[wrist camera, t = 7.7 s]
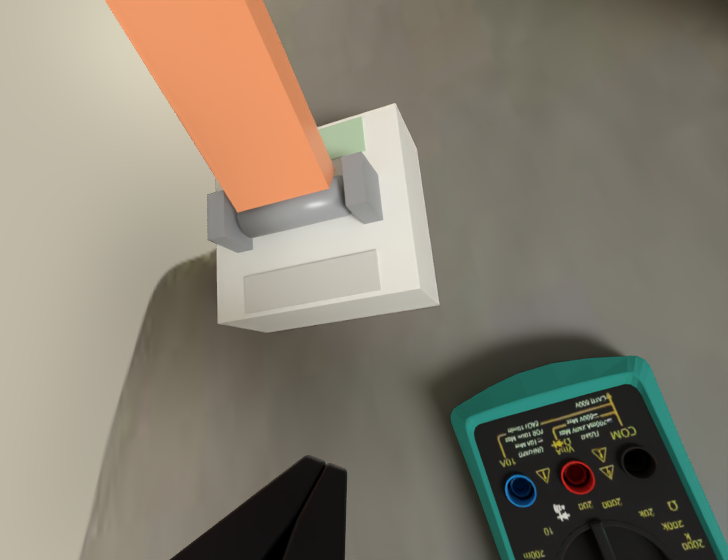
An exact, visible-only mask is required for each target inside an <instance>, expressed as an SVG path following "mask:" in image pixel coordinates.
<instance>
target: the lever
mask: <svg viewBox="0 0 728 560" xmlns="http://www.w3.org/2000/svg"><path fill="white" fill-rule="evenodd" d="M105 1H106V3H107V4H108V6H109V7H110V9H111V11H112V12H113V14H114V15H115V17H116V19H117V20H118V22H119V23H120V25H121V27H122V28H123V30H124V31H125V33H126V35H127V36H128V38H129V40H130V41H131V43H132V44H133V46H134V47H135V49H136V51H137V52H138V54H139V55H140V57H141V59H142V60H143V62H144V64H145V65H146V67H147V68H148V70H149V71H150V73H151V75H152V76H153V78H154V80H155V81H156V82H157V84H158V86H159V88H160V89H161V91H162V92H163V94H164V95H165V97H166V99H167V100H168V102H169V104H170V105H171V107H172V108H173V110H174V112H175V113H176V114H177V116H178V118H179V120H180V121H181V123H182V124H183V126H184V127H185V129H186V131H187V132H188V134H189V136H190V137H191V139H192V140H193V142H194V144H195V145H196V147H197V148H198V150H199V152H200V153H201V155H202V156H203V158H204V159H205V161H206V163H207V164H208V166H209V167H210V169H211V171H212V172H213V174H214V176H215V177H216V179H217V180H218V182H219V184H220V185H221V187H222V188H223V190H224V192H225V193H226V195H227V196H228V198H229V200H230V201H231V203H232V204H233V206H234V208H235V209H236V211H237V218H238V222H239V225H240V227H241V229H242V231H243V232H244V234H245V235H246V236H248V237H249V238H256V237H260V236H264V235H268V234H273V233H277V232H281V231H285V230H290V229H294V228H298V227H302V226H307V225H311V224H315V223H319V222H324V221H328V220H332V219H336V218H340V217H345V216H349V215H351V213H352V212H351V211H350V210H349V209H348V208H347V207H346V202H345V191H344V181H343V176H341V175H337V176H334V172H335V168H334V166H333V163H332V161H331V159H330V156H329V154H328V152H327V149H326V147H325V145H324V142H323V140H322V138H321V135H320V133H319V131H318V128H317V126H316V124H315V121H314V119H313V117H312V114H311V112H310V110H309V107H308V105H307V103H306V100H305V98H304V96H303V93H302V91H301V88H300V86H299V84H298V81H297V79H296V77H295V74H294V72H293V70H292V67H291V65H290V63H289V60H288V58H287V56H286V53H285V51H284V49H283V46H282V44H281V42H280V39H279V37H278V35H277V32H276V30H275V28H274V25H273V23H272V21H271V18H270V16H269V13H268V11H267V9H266V6H265V4H264V2H263V0H105ZM333 176H334V177H333Z"/></svg>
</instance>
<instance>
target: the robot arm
mask: <svg viewBox="0 0 728 560" xmlns="http://www.w3.org/2000/svg"><path fill="white" fill-rule="evenodd" d="M346 497H347V471H346V469H344V468H342V467H339V466H337V465H334V464H331V463H328V464H327V465H326V463H325V461H323V460H321V459H318V458H315V457H313V456H310V455H307V456H304V457H303V458H301V459H300V460H299V461H297V462H296V463H295V464H294V465H292V466H291V467H290V468H288V469H287V470H286V471H284V472H283V473H282V474H281V475H279V476H278V477H277V478H275V479H274V480H273V481H271V482H270V483H269V484H268V485H266V486H265V487H264V488H262V489H261V490H260V491H258V492H257V493H256V494H254V495H253V496H252V497H251V498H249V499H248V500H247V501H245V502H244V503H243V504H241V505H240V506H239V507H238V508H236V509H235V510H234V511H232V512H231V513H230V514H228V515H227V516H226V517H225V518H223V519H222V520H221V521H219V522H218V523H217V524H215V525H214V526H213V527H212V528H210V529H209V530H208V531H206V532H205V533H204V534H202V535H201V536H200V537H199V538H197V539H196V540H195V541H193V542H192V543H191V544H189V545H188V546H187V547H186V548H184V549H183V550H182V551H180V552H179V553H178V554H176V555H175V556H174V557H173V558H171V559H170V560H345V532H346Z"/></svg>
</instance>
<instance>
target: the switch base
mask: <svg viewBox="0 0 728 560" xmlns="http://www.w3.org/2000/svg"><path fill="white" fill-rule="evenodd" d="M317 128H318V131H319V133H320V135H321V138H322V140H323V142H324V145H325V147H326V149H327V152H328V154H329V156H330V159H331V161H332V163H333V166H334V168H335V172H334V176H337V175H341V176H343V181H344V191H345V202H346V207H347V208H348V209H349V210H350V211H351V212H352V213H351V215H349V216H345V217H340V218H336V219H332V220H328V221H324V222H319V223H315V224H311V225H307V226H302V227H298V228H294V229H290V230H285V231H281V232H277V233H273V234H268V235H264V236H260V237H256V238H249V237H248V236H246V235H245V234H244V232H243V231H242V229H241V227H240V225H239V222H238V218H237V211H236V209H235V208H234V206H233V204H232V203H231V201H230V200H229V198H228V196H227V195H226V193H225V192H224V190H223V188H222V187H221V185H220V184H219V182H218V180H217V179H216V192H215V193H211V194H208V195H207V206H208V208H207V210H208V240H209V241H211V242H214V243H216V244H217V310H218V324H223V325H228V326H234V327H239V328H244V329H250V330H255V331H261V332H266V333H268V332H275V331H281V330H287V329H293V328H300V327H306V326H312V325H318V324H325V323H331V322H337V321H344V320H350V319H356V318H362V317H369V316H375V315H381V314H387V313H394V312H400V311H406V310H413V309H419V308H425V307H431V306H438V305H439V299H438V292H437V285H436V278H435V271H434V264H433V257H432V250H431V243H430V236H429V229H428V222H427V215H426V209H425V202H424V195H423V188H422V181H421V174H420V167H419V160H418V153H417V148H416V146H415V144H414V142H413V140H412V138H411V135H410V133H409V131H408V129H407V127H406V125H405V123H404V121H403V118H402V116H401V114H400V112H399V110H398V108H397V106H396V104H391V105H388V106H385V107H382V108H378V109H375V110H372V111H369V112H365V113H362V114H359V115H356V116H352V117H349V118H346V119H343V120H339V121H336V122H333V123H330V124H326V125H323V126H320V127H317ZM334 176H333V177H334Z"/></svg>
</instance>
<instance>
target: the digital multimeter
mask: <svg viewBox="0 0 728 560" xmlns="http://www.w3.org/2000/svg"><path fill="white" fill-rule="evenodd" d="M641 395H642V396H641ZM642 397H643V398H642ZM643 399H644V400H643ZM645 404H646V405H645ZM646 406H647V407H646ZM647 408H648V409H647ZM648 410H649V411H648ZM649 412H650V413H649ZM652 419H653V420H652ZM653 421H654V422H653ZM451 423H452V426H453V429H454V431H455V434H456V437H457V439H458V442H459V444H460V447H461V450H462V452H463V455H464V458H465V460H466V463H467V466H468V468H469V471H470V474H471V476H472V479H473V482H474V484H475V487H476V490H477V492H478V495H479V498H480V501H481V504H482V506H483V509H484V512H485V515H486V518H487V521H488V523H489V526H490V529H491V532H492V535H493V538H494V540H495V543H496V546H497V549H498V552H499V555H500V557H501V560H728V546H727V543H726V541H725V539H724V537H723V534H722V532H721V530H720V528H719V525H718V523H717V521H716V519H715V516H714V514H713V512H712V510H711V507H710V505H709V503H708V501H707V498H706V496H705V494H704V492H703V489H702V487H701V485H700V482H699V480H698V478H697V476H696V473H695V471H694V469H693V467H692V464H691V462H690V460H689V458H688V455H687V453H686V451H685V449H684V446H683V444H682V442H681V439H680V437H679V435H678V432H677V430H676V427H675V425H674V423H673V420H672V418H671V415H670V413H669V411H668V408H667V406H666V403H665V401H664V399H663V396H662V394H661V391H660V389H659V387H658V384H657V382H656V379H655V377H654V375H653V372H652V370H651V367H650V365H649V364H648V363H647V362H646V361H645V360H644V359H643V358H640V357H638V356H620V357H602V358H587V359H580V360H572V361H565V362H558V363H551V364H547V365H544V366H541V367H537V368H534V369H531V370H527V371H524V372H521V373H517V374H515V375H513V376H511V377H509V378H507V379H505V380H503V381H501V382H499V383H497V384H495V385H493V386H491V387H489V388H487V389H485V390H483V391H482V392H480V393H478V394H477V395H475V396H473V397H472V398H470V399H468V400H467V401H465V402H463V403H462V404H460V405H458V406H457V407H455V408H454V409H453V411H452V413H451ZM654 423H655V424H654ZM655 425H656V426H655ZM658 432H659V433H658ZM659 434H660V435H659ZM660 436H661V437H660ZM661 438H662V439H661ZM475 441H476V442H475ZM476 444H477V445H476ZM664 445H665V446H664ZM477 447H478V448H477ZM665 447H666V448H665ZM666 449H667V450H666ZM478 450H479V451H478ZM667 451H668V452H667ZM668 453H669V454H668ZM671 460H672V461H671ZM672 462H673V463H672ZM673 464H674V465H673ZM677 473H678V474H677ZM678 475H679V476H678ZM593 521H595V522H593ZM620 521H622V522H620ZM587 523H588V524H587ZM584 524H585V525H584ZM631 524H632V525H631ZM582 525H583V526H582ZM634 525H635V526H634ZM574 530H575V531H574ZM573 531H574V532H573ZM646 531H647V532H646ZM566 538H567V539H566ZM658 539H659V540H660V541H659V540H658ZM560 548H561V549H560ZM671 552H672V553H671Z"/></svg>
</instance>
